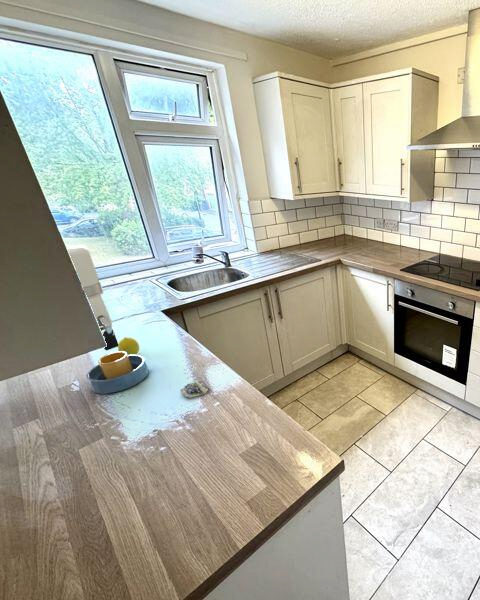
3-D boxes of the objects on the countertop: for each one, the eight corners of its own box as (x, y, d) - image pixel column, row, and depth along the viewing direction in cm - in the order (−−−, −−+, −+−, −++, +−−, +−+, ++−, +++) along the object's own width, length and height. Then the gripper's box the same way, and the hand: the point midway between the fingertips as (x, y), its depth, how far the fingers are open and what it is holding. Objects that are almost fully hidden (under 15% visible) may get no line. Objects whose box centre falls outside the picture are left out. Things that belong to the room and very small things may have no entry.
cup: (113, 388, 99) (104, 366, 96) (103, 381, 102) (94, 359, 99) (139, 376, 105) (131, 355, 101) (128, 369, 108) (120, 349, 105)
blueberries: (194, 381, 103) (192, 376, 103) (215, 385, 101) (213, 380, 101) (175, 395, 97) (173, 390, 97) (197, 400, 95) (196, 395, 95)
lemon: (145, 355, 116) (138, 336, 113) (127, 363, 112) (119, 343, 109) (137, 351, 119) (130, 332, 116) (119, 358, 115) (111, 339, 111)
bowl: (105, 401, 95) (98, 387, 93) (84, 385, 101) (78, 372, 99) (157, 375, 106) (152, 362, 104) (136, 362, 112) (131, 350, 110)
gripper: (54, 288, 92) (76, 341, 99) (79, 301, 84) (102, 358, 91) (88, 280, 98) (106, 331, 105) (114, 292, 90) (133, 346, 97)
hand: (104, 343), depth 98 cm, fingers open, 9 cm apart
